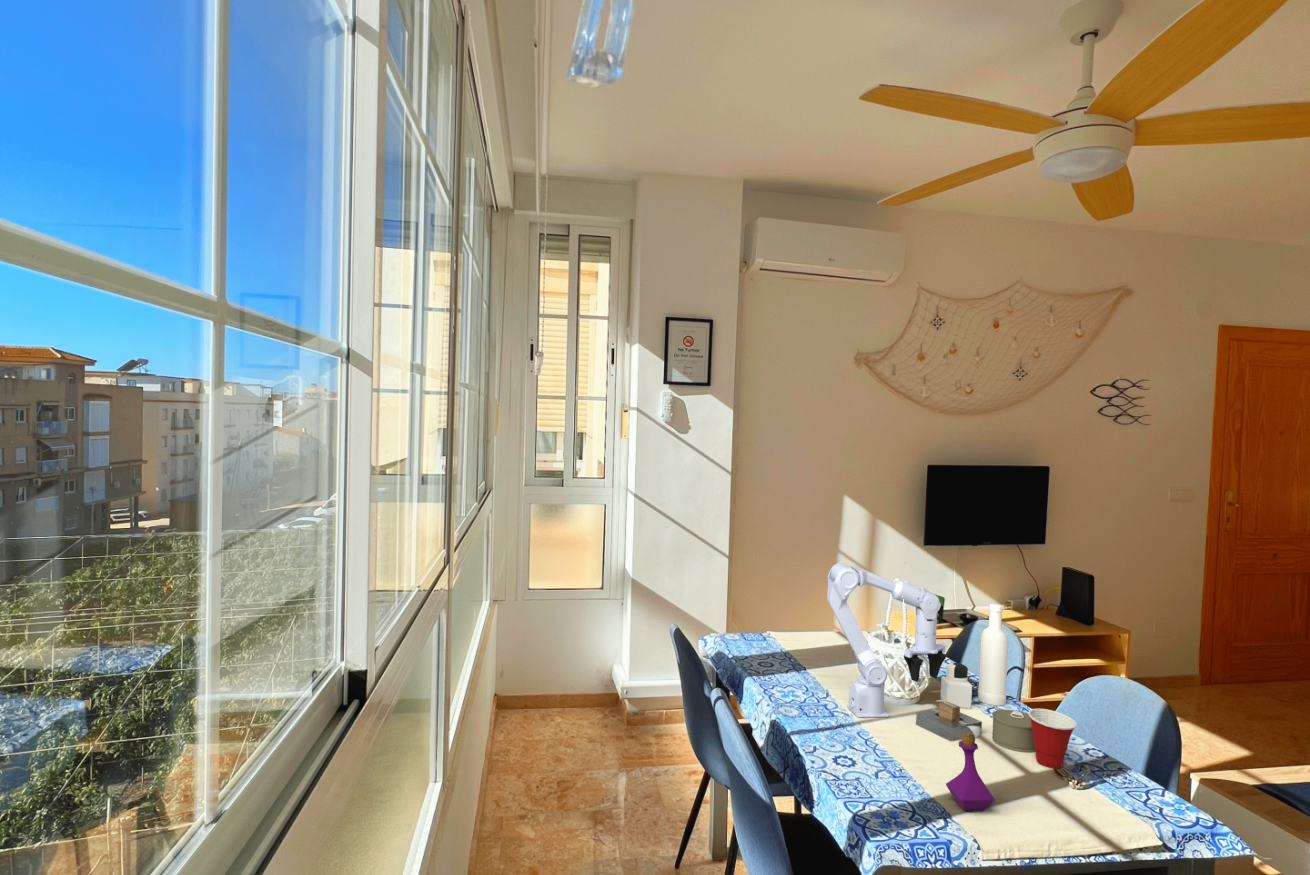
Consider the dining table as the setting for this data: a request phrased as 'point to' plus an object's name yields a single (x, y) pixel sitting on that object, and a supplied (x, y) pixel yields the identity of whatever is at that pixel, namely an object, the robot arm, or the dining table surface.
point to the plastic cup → (1050, 736)
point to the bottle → (993, 660)
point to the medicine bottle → (956, 686)
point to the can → (1013, 730)
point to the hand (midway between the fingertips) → (924, 678)
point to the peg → (949, 711)
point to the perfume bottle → (970, 778)
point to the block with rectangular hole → (945, 724)
